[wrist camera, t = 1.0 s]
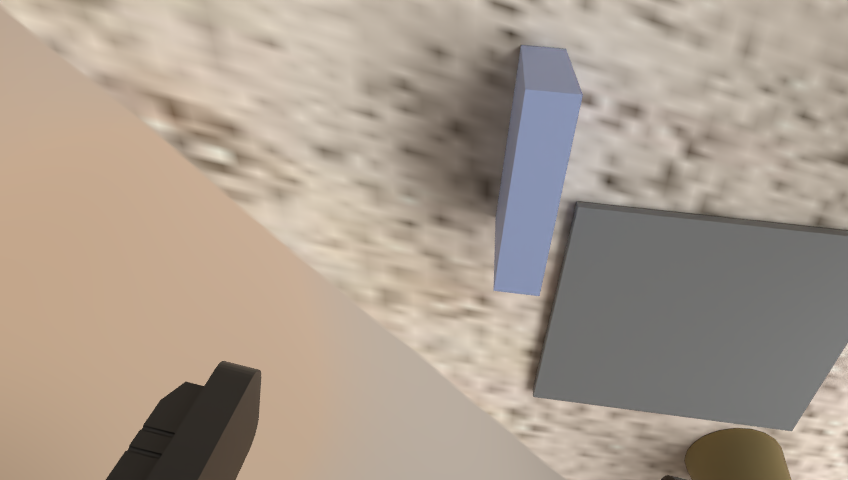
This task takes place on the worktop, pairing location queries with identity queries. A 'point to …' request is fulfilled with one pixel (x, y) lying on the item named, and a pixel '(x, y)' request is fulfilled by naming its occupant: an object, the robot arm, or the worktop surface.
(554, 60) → the card deck
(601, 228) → the mat
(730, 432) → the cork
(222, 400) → the robot arm
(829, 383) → the worktop surface
